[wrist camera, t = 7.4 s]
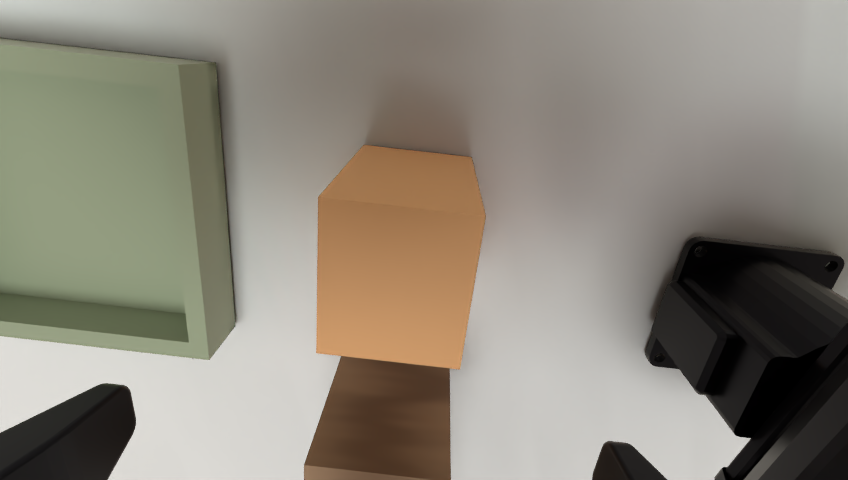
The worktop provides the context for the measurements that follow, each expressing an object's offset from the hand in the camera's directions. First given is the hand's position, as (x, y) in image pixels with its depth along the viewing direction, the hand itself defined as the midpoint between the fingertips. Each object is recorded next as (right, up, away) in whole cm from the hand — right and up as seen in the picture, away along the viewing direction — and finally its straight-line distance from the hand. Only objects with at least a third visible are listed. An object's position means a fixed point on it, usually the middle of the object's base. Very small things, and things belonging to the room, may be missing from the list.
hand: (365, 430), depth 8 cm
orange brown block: (+1, +5, +11) cm, 12 cm away
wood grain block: (0, -2, +14) cm, 14 cm away
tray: (-13, +5, +11) cm, 18 cm away
